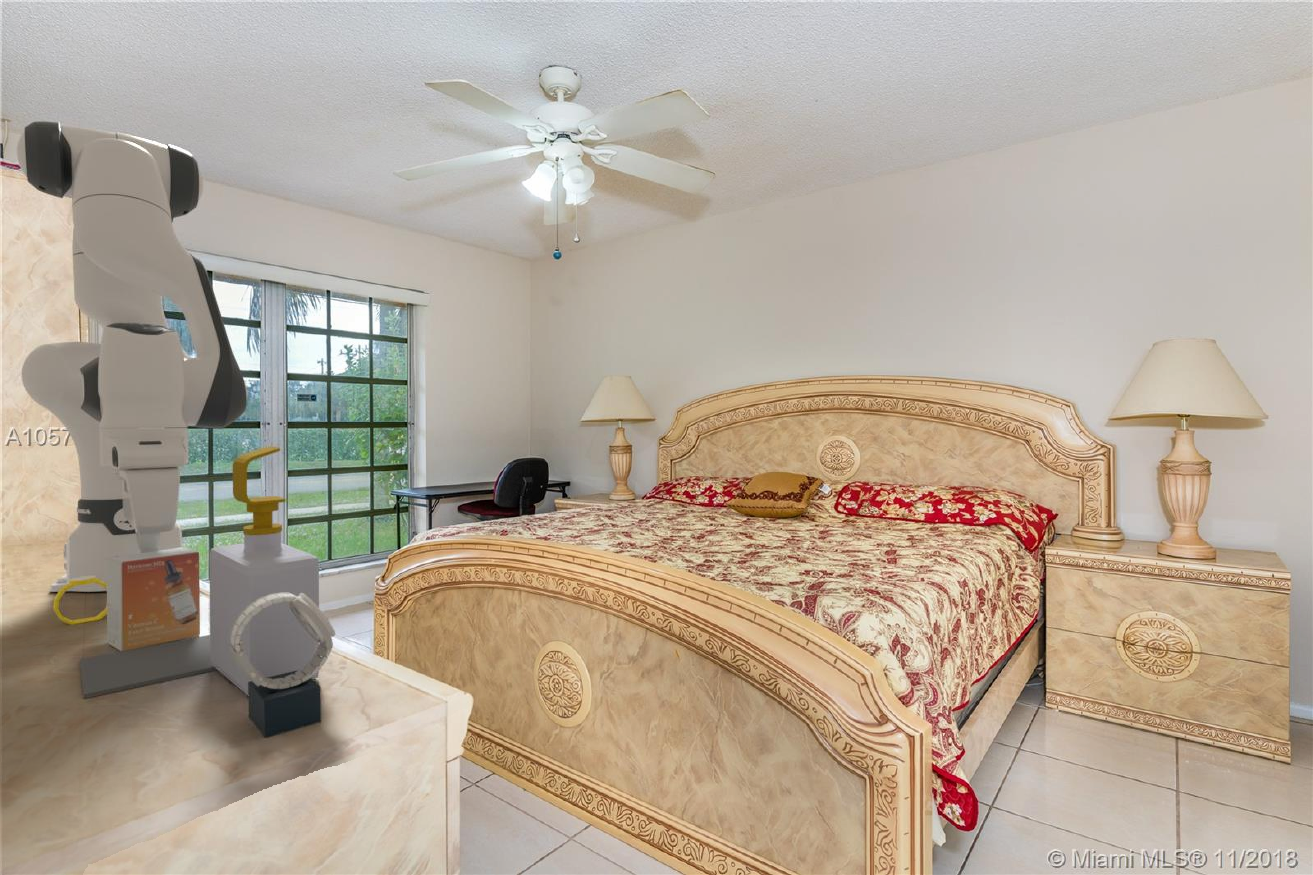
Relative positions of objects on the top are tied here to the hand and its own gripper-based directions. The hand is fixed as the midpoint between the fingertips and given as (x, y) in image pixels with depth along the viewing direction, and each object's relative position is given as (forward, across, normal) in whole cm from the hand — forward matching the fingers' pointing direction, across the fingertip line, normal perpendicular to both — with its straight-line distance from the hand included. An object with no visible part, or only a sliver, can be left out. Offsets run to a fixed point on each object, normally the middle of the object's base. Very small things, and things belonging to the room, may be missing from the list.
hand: (148, 561), depth 84 cm
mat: (+9, +15, 0) cm, 18 cm away
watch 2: (+9, +40, +6) cm, 41 cm away
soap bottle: (+9, +27, +7) cm, 29 cm away
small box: (+9, +5, 0) cm, 10 cm away
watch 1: (+9, -11, -6) cm, 15 cm away
